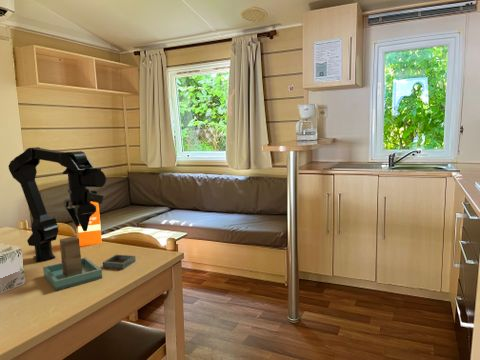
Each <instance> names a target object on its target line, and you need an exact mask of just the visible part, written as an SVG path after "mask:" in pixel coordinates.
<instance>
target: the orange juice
mask: <svg viewBox="0 0 480 360" xmlns="http://www.w3.org/2000/svg"><path fill="white" fill-rule="evenodd" d="M91 203H92V204H94V205H95V206H96V212H95V213H94V214H93V215H92V216H91V217H90V219H89V224H88V228H87V231H83V229H82V227H81V225H80V224H79V226H77V231H78V239H79V243H80V247H83V246H90V245H99V244H102V243H103V242H102V229H101V226H102V225H101V217H100V216H101V215H100V207H99V205H100V204H99V203H96V202H91Z"/></svg>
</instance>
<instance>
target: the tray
mask: <svg viewBox="0 0 480 360" xmlns="http://www.w3.org/2000/svg"><path fill="white" fill-rule="evenodd" d="M81 265H82V274H78V275H74V276H70V277H66V276H65V275H63V269H62V262H60V263H59V262H58V263H55V264H51V265H46V266H43V267H42V269H43V270H42V271H43V276H44V278H45V279H46V280H47V281H48V283H49V284H50V285H51V287H52V288H53V290H54V291H55V292H58V291H61V290H65V289H68V288H73V287H75V286H78V285H79V286H80V285H83V284H87V283H89V282H93V281H97V280H101V279H103V270H102V268H100V267H99V266H98V265H97V264H95V262H94V261H92V260H91V259H90V258H88V257H87V256H85V257H81Z"/></svg>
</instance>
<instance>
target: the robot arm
mask: <svg viewBox="0 0 480 360" xmlns="http://www.w3.org/2000/svg"><path fill="white" fill-rule="evenodd" d="M40 161H48V162H53V163H57V164H59V165H61V167H65V169H64V170H63V172H62V175H67V181H68V182H67V183H68V189H67V193H69V198H66V199H64V200H63V207H64V209H65V210H66V212H67V213H68V215H69V217H70V218H71V220H72V222H73V223H74V225H75V227H78V226H79V224H80V225H81V227H82V229H83V231H87V228H88V224H89V219H90V217H91V216H92V215H93V214H94V213H95V212H96V206H95V205H94V204H92V203H91V202H96V203H98V205H103V201H104V198H105V195H103V194H100V193H99V194H98V191H97V190H94V189H91V190H90V189H89V188H102V187H104V186H105V185H106V182H107V177H106V175H105V173H104V171H102V168H101V167H94V165H93V164H92V162H91V161H90V159H89V158H88V157H87V155H86V153H85V151H82V150H80V151H60V150H54V149H49V148H48V149H47V148H41V147H39V146H37V147H28V148H26V149H25V150H24V151H23V152H22V153H20V154H18V155H16V157H14V158H13V159H11V161H10V162H9V164H8V170H9V172H10V175H11V176H12V178H13V179H14V180H16V182H18V183H19V184H20V187H21V189H22V192H23V194H24V195H23V196H24V198H25V201H26V203H27V206H28V210H29V212H30V215H31V217H32V222H31V232H32V233H31V234H30V235H29V238H28V239H27V240H26V242H27V244H28V246H29V247H30V246H31V247H34V252H35V253H34V254H35V256H32V257H33V259H34V261H36V263H37V262H42V261H47V260H52V259H55V258H56V256H55V254H53V247H52V246H53V245H52V242H54V241H56V240H57V237H58V233H59V228H60V225H58V222H57V220H56V217H51V216H50V215H48V213H47V210H46V207H45V205H44V202H43V198H42V196H41V192H40V191H39V187H38V185H37V182H36V176H37V172H38V171H37V167H38V165H40V163H41V162H40Z"/></svg>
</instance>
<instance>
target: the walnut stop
mask: <svg viewBox="0 0 480 360" xmlns="http://www.w3.org/2000/svg"><path fill="white" fill-rule="evenodd" d="M59 246H60V258H61V263H62V269H63V275H65V276H66V277H70V276H74V275H78V274H82V265H81V258H82V256H81V246H80V242H79V237H76V236H70V237H65V238H60V239H59Z"/></svg>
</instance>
